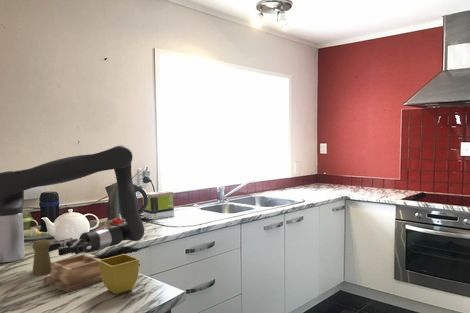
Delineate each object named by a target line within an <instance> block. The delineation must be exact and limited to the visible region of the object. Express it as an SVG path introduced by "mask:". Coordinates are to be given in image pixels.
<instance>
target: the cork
mask: <svg viewBox="0 0 470 313" xmlns="http://www.w3.org/2000/svg"><path fill="white" fill-rule="evenodd" d="M50 244H51V242H50V241H49V239H44V238H43V239H42V238H41V239H38V240H35V241H34V242H33V243H32V250H33V251H34V256H33V264H32V276H36V277H37V276H38V277H39V276H46V275H50V274H51V263H52V262H51V256H50V251H49V250H48V249H49V247H50Z"/></svg>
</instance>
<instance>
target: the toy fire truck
mask: <svg viewBox="0 0 470 313" xmlns="http://www.w3.org/2000/svg"><path fill="white" fill-rule="evenodd" d="M111 223H112V225H114V226H115V225H116V226H119V225H121V224H123V218H122V219H121V218H118V217H117V218H112V219H109V220H106V221H104V222H103V225H104V227H101V228H97V229H96V230H100V229H107V228H112V226H111Z"/></svg>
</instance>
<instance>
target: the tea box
mask: <svg viewBox="0 0 470 313" xmlns="http://www.w3.org/2000/svg"><path fill="white" fill-rule="evenodd" d="M145 193H146V194H147V196H148V204H147V207H146V208H145V210H144V209H143V217H147V218H150V219H153V220H159V219H163V218H169V217H174V216H175V209H174V208H175V207H174V192H173V191H168V190H160V191H153V192H145ZM142 199H143V200H142V202H143V205H144V197H143V196H142ZM147 218H146V219H147ZM150 219H149V220H150Z"/></svg>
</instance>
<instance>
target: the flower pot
mask: <svg viewBox="0 0 470 313" xmlns="http://www.w3.org/2000/svg"><path fill="white" fill-rule="evenodd" d="M98 262H99V268H100V273H101V278H102V281H101V282H102V283H103V285H104V286H105V288H106V289H107V290H108V291H109V292H112V293H113V294H115V295H118V294H121V293H125V292H128V291H131V290H133V288H134V287H135V284H136V282H137V280H138V277H139V270H140V269H139V267H140V259H139V258H137V257H135V256H131V255H129V254H127V253H122V254H119V255H116V256H115V255H114V256H111V257H108V258H103V259H102V258H101V260H99V261H98Z"/></svg>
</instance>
